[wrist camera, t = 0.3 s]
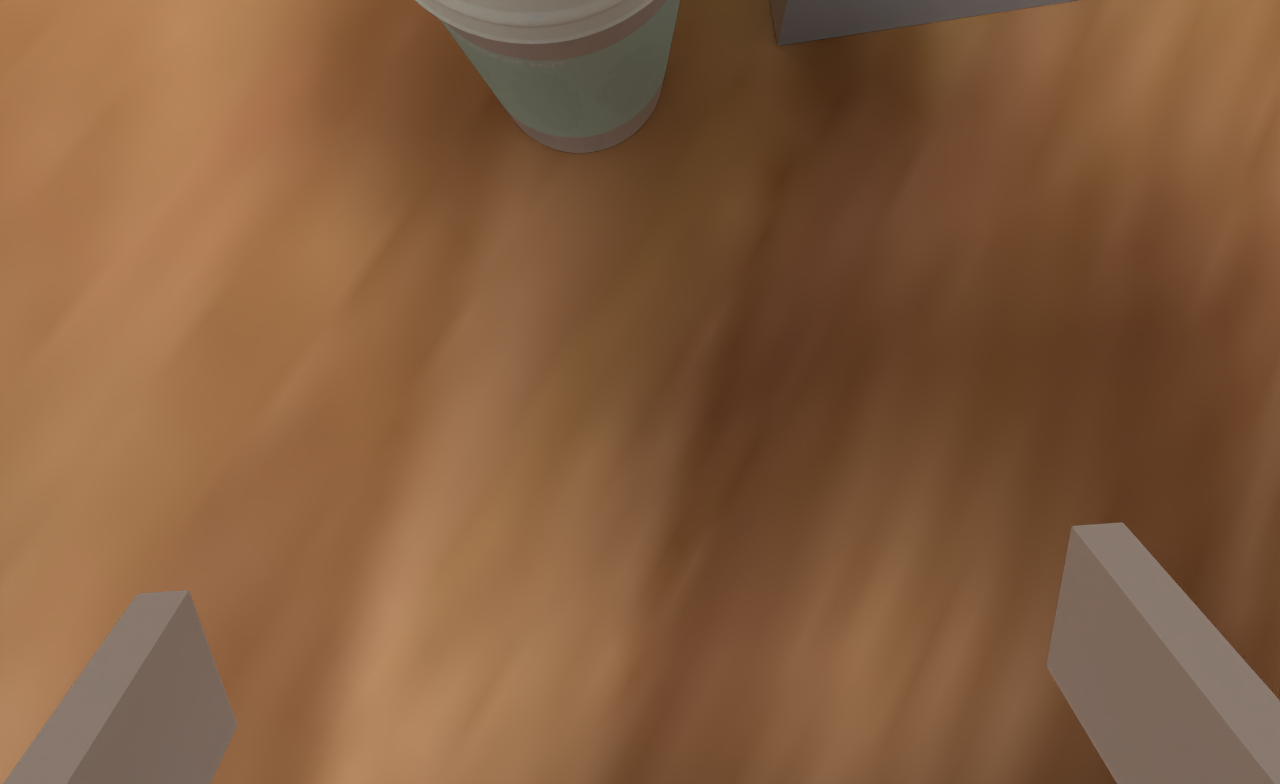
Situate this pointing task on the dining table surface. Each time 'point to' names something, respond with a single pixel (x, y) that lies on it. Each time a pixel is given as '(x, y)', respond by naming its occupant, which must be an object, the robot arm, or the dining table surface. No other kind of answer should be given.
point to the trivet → (875, 15)
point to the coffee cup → (567, 63)
